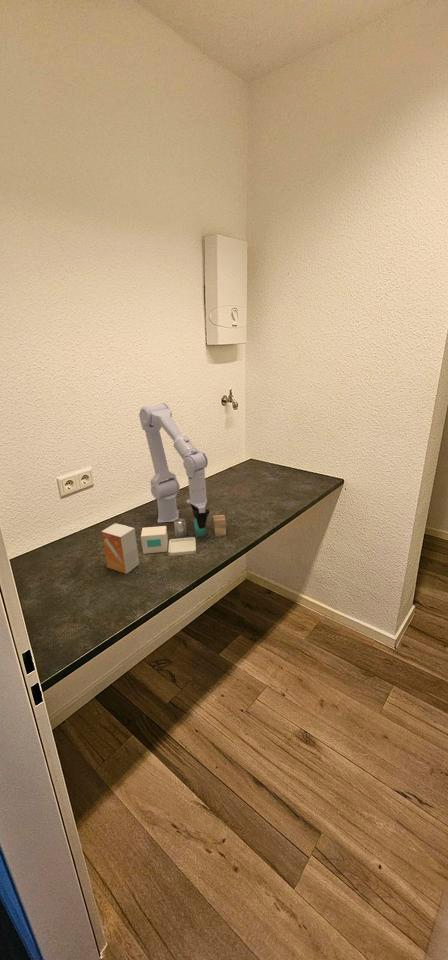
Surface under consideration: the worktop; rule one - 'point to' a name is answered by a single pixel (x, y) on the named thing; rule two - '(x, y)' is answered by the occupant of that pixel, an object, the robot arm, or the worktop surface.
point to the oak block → (219, 525)
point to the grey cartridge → (180, 528)
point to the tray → (182, 546)
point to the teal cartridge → (199, 530)
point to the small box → (120, 548)
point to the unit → (154, 539)
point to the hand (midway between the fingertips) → (200, 523)
